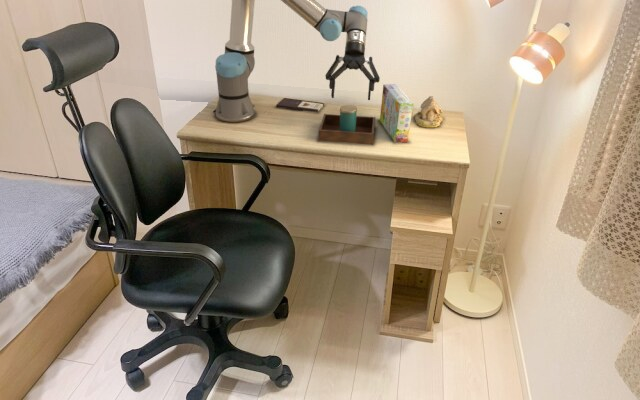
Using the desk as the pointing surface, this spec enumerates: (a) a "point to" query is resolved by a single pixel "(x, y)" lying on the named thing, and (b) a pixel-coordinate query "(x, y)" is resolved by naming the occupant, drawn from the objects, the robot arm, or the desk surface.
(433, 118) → the ceramic model
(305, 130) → the desk surface
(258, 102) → the desk surface
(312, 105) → the chocolate bar
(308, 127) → the desk surface
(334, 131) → the dark wooden tray
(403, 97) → the snack box
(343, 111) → the tin
